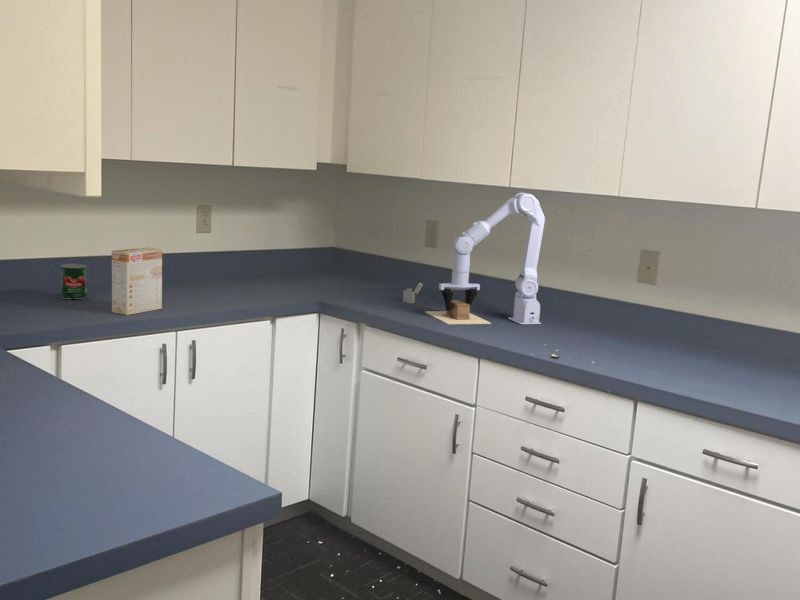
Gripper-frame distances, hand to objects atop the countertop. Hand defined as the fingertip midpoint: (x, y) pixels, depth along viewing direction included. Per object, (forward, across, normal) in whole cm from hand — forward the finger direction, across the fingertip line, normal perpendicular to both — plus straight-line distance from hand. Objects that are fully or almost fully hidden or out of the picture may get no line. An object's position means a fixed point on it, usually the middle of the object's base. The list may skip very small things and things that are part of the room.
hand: (457, 310), depth 275 cm
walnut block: (+2, 0, 0) cm, 2 cm away
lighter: (+3, +6, -27) cm, 28 cm away
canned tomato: (+3, +123, -39) cm, 129 cm away
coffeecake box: (+3, +104, -17) cm, 105 cm away
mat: (+3, 0, 0) cm, 3 cm away
